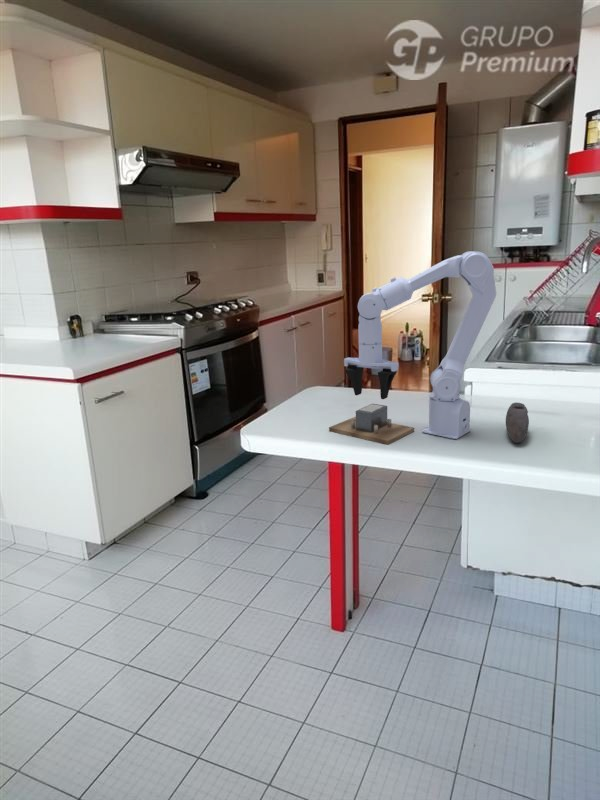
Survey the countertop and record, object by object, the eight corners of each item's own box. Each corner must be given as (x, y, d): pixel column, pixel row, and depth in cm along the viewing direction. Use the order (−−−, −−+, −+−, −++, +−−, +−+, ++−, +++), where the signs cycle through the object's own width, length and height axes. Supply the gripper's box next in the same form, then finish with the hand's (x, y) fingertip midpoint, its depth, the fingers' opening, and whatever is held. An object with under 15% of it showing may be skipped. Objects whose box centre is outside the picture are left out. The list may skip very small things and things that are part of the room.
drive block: (387, 424, 146) (387, 405, 144) (371, 432, 140) (371, 413, 138) (372, 421, 148) (372, 403, 147) (355, 430, 142) (355, 410, 141)
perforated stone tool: (527, 448, 127) (529, 419, 126) (503, 446, 129) (504, 417, 128) (528, 428, 141) (529, 401, 139) (505, 427, 143) (507, 400, 141)
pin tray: (414, 431, 142) (414, 420, 142) (387, 444, 134) (387, 432, 133) (356, 419, 154) (356, 409, 153) (329, 431, 146) (328, 419, 145)
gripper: (404, 342, 137) (404, 396, 140) (354, 338, 145) (355, 389, 149) (390, 347, 131) (390, 403, 135) (338, 342, 140) (340, 395, 144)
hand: (370, 396), depth 141 cm, fingers open, 7 cm apart
